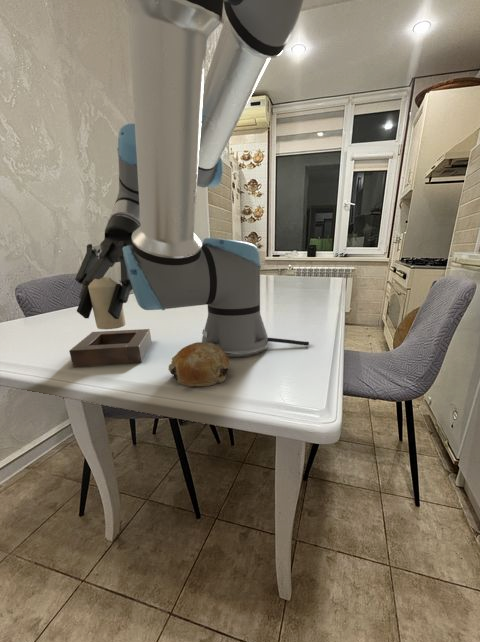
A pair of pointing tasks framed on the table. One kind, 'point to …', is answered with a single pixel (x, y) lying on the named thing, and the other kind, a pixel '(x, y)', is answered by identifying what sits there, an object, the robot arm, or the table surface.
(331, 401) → the table surface
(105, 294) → the candle
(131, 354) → the candle block
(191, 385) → the bread roll
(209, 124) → the robot arm
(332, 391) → the table surface
